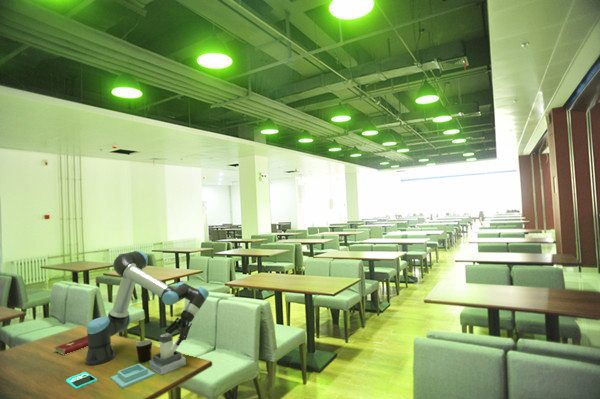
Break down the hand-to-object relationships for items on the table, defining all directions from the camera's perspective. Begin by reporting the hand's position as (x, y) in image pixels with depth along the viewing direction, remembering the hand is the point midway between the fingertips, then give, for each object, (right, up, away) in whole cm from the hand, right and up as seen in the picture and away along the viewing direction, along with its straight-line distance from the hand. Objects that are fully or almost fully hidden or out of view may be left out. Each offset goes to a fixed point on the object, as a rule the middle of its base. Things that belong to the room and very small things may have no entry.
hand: (166, 347), depth 188 cm
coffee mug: (-16, -12, +12) cm, 23 cm away
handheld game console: (-41, -14, -9) cm, 44 cm away
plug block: (0, -6, 0) cm, 6 cm away
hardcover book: (-73, -16, +37) cm, 84 cm away
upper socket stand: (+1, -10, 0) cm, 10 cm away
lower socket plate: (-14, -11, -9) cm, 20 cm away
